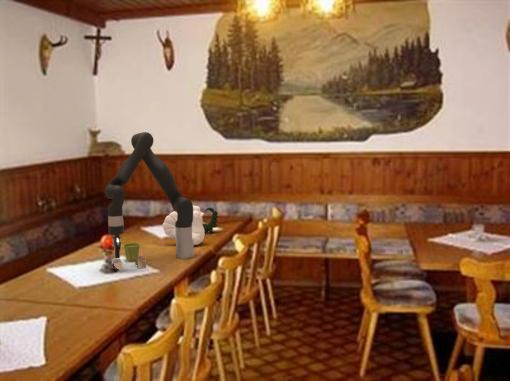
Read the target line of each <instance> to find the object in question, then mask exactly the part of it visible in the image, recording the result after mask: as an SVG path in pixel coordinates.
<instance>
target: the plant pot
mask: <svg viewBox="0 0 510 381" xmlns="http://www.w3.org/2000/svg"><path fill="white" fill-rule="evenodd" d="M140 246H141V243H139V242H128V243H124V244H122V247H123V249H124V253H125V258H126V261H127V260H128V261H127V262H135V257H139V251H140V248H141V247H140Z"/></svg>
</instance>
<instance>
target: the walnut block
mask: <svg viewBox="0 0 510 381" xmlns="http://www.w3.org/2000/svg"><path fill="white" fill-rule="evenodd" d="M134 264H135V266H136V265H137V266H136V267H137V269H138V268H141V269H146V268H147V259H145V257H144V256H143V255H142V256H138V257H135V261H134Z"/></svg>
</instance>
